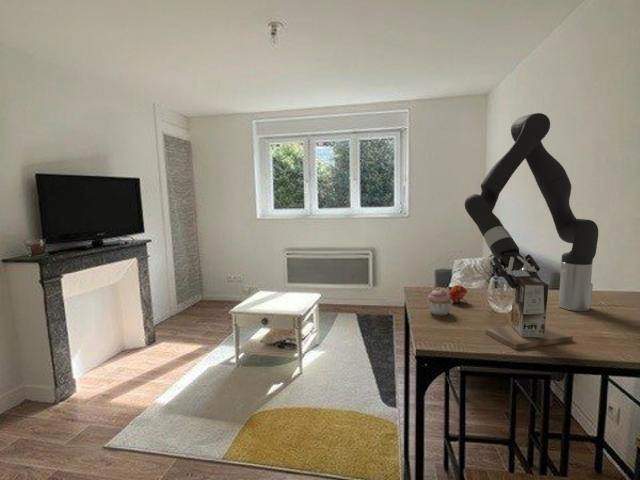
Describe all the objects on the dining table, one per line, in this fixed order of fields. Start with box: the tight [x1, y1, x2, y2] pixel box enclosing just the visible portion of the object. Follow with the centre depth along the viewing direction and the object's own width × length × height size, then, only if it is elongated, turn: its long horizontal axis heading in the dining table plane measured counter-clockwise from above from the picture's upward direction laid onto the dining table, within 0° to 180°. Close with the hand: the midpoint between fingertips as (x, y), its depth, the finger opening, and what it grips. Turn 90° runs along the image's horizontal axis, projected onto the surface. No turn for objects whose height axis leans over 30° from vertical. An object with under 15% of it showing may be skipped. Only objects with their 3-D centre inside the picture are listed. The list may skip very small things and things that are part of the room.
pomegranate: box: [446, 284, 468, 304], centre depth 140 cm, size 7×7×10 cm
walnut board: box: [485, 324, 574, 351], centre depth 106 cm, size 20×12×2 cm, turn 104°
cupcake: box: [426, 286, 454, 317], centre depth 128 cm, size 9×9×10 cm
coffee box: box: [510, 275, 550, 338], centre depth 104 cm, size 9×6×16 cm
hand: (527, 285), depth 105 cm, fingers open, 8 cm apart
